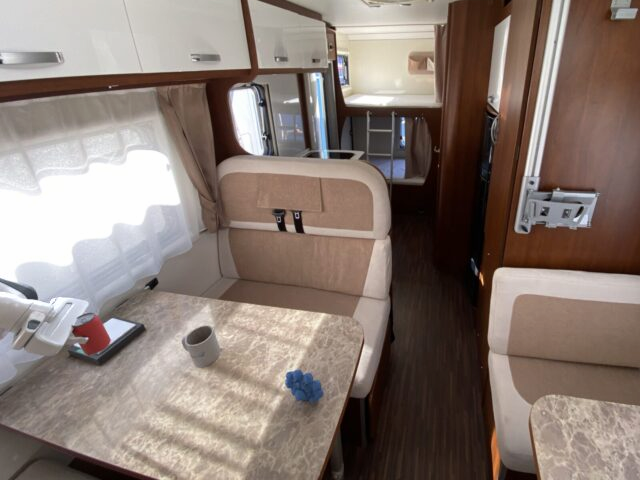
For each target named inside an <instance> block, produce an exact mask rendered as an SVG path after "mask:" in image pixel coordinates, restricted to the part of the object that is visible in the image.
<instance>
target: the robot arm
mask: <svg viewBox="0 0 640 480" xmlns="http://www.w3.org/2000/svg"><path fill="white" fill-rule="evenodd" d="M89 307H90V303H89V301H87V300H83V299H79V298H75V297H74V298H73V297H63V296H62V297H61V296H59V297H55V298H52V299H51V300H50V301H49V303H48V302H45V301H41V300H39V295H38V292H37V290H36V289H35V288H34V287H33V286H31V285H29V284H25V283H22V282H17V281H12V280H8V279H6V278H5V279H4V278H1V277H0V342H1V341H2V340H3V339H4V338H5V337H6V336H7V335H8V334H9V333H12V334H13V339H12V343H11V347H10V348H11V349H12V350H14V351H21V350H24V351H25V352H26V353H29V354H33V355H36V356H37V355H38V356H44V357H54V356H56V355H58V353H59V352H61V350H62V348H63V347H64V346H65V345H67V346H69V345H70V346H71V345H73V344H76V343H80V344H85V343H86V342H87V341H88V339H89V336H85V335H83V336H82V337H75V336H74V335H73V333H72V331H73V330H74V327H72V325H74V324H75V322H76V321H77V319H78V318H77V317H79V316H81V315H83V314H86V313H88V312H86V311H87V309H88V308H89ZM76 318H77V319H76Z"/></svg>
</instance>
